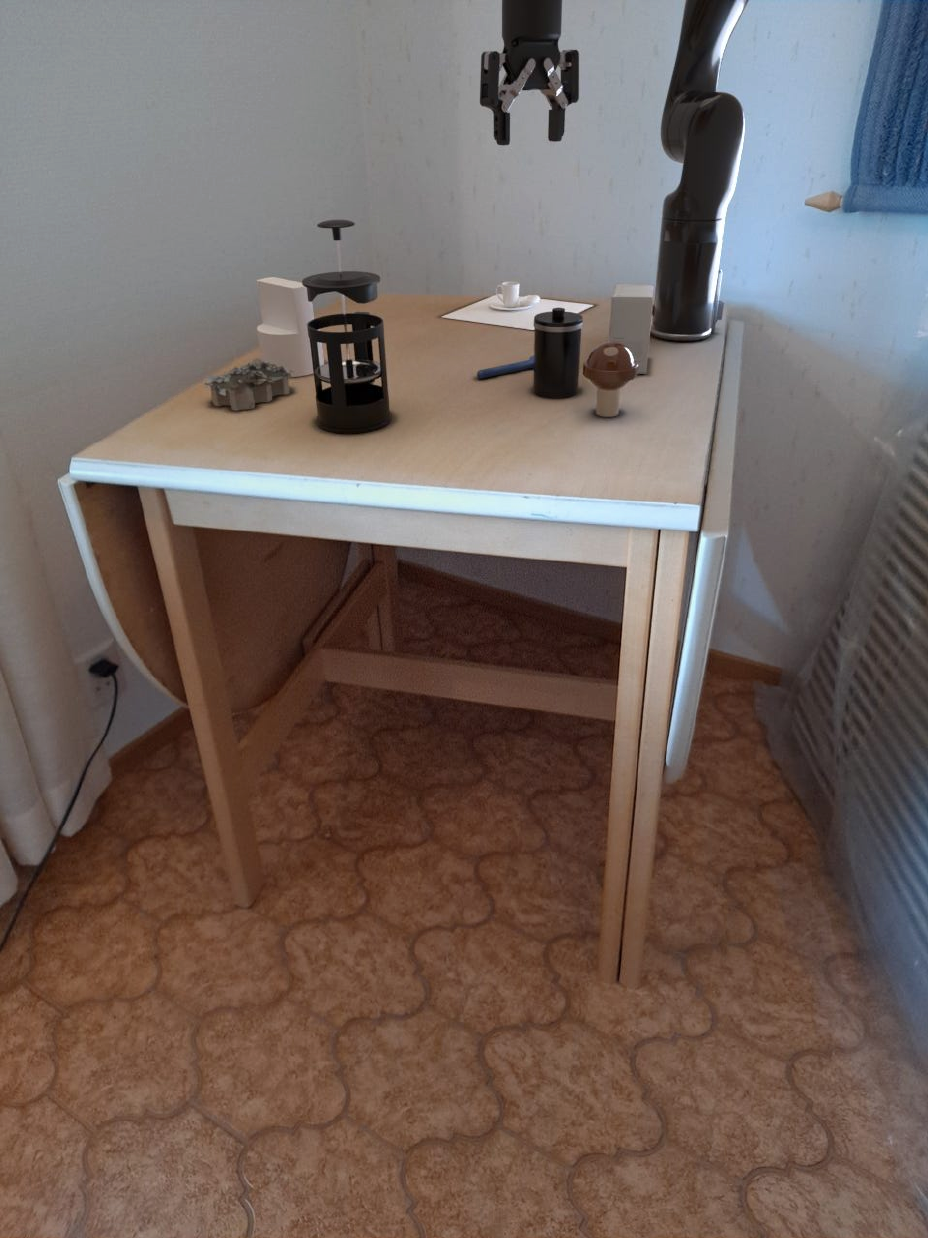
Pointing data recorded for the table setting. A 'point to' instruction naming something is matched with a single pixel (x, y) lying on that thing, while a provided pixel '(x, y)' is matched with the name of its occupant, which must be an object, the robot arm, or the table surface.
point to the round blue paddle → (506, 368)
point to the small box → (632, 320)
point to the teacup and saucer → (512, 308)
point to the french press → (352, 389)
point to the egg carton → (248, 385)
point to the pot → (557, 353)
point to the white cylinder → (286, 325)
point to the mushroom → (609, 374)
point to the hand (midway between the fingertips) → (529, 142)
